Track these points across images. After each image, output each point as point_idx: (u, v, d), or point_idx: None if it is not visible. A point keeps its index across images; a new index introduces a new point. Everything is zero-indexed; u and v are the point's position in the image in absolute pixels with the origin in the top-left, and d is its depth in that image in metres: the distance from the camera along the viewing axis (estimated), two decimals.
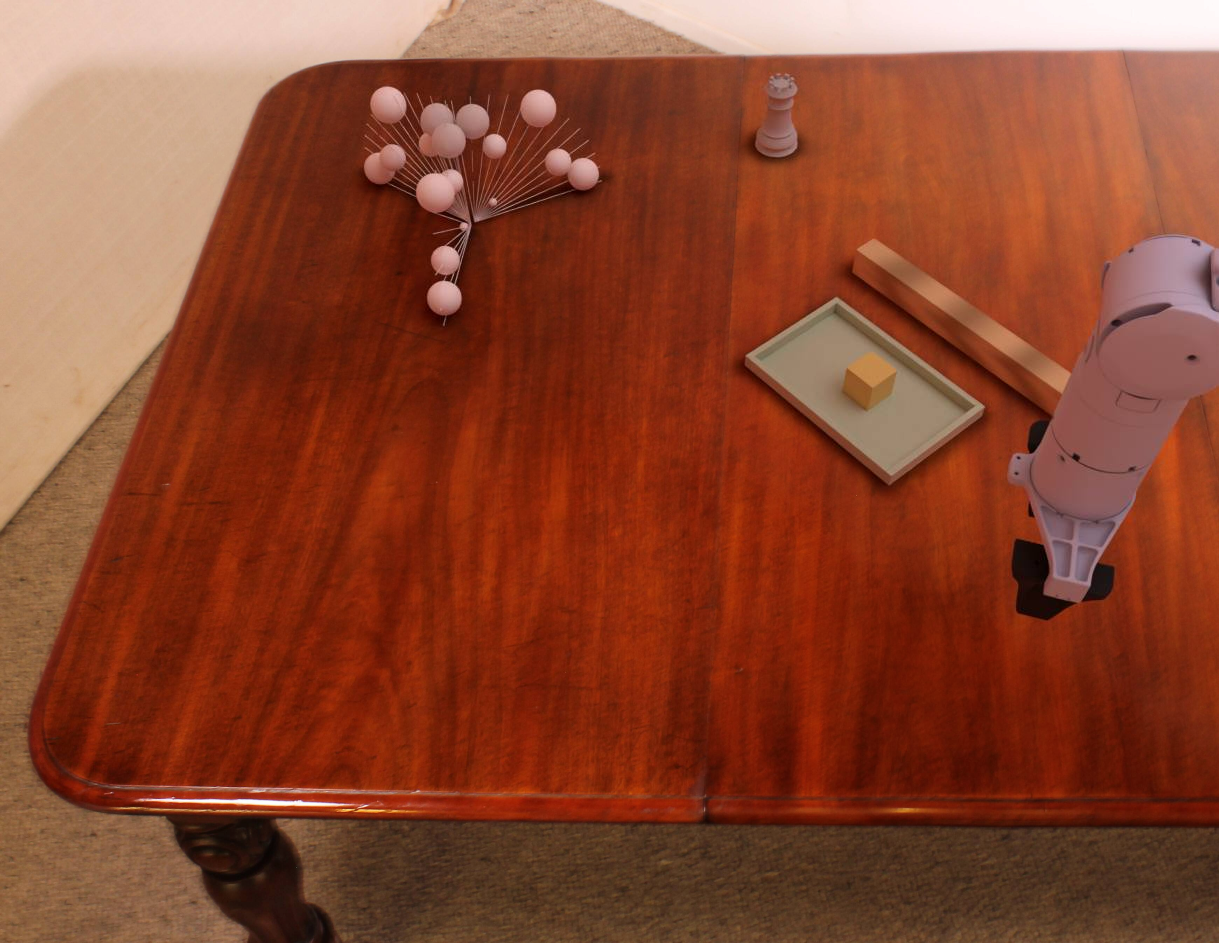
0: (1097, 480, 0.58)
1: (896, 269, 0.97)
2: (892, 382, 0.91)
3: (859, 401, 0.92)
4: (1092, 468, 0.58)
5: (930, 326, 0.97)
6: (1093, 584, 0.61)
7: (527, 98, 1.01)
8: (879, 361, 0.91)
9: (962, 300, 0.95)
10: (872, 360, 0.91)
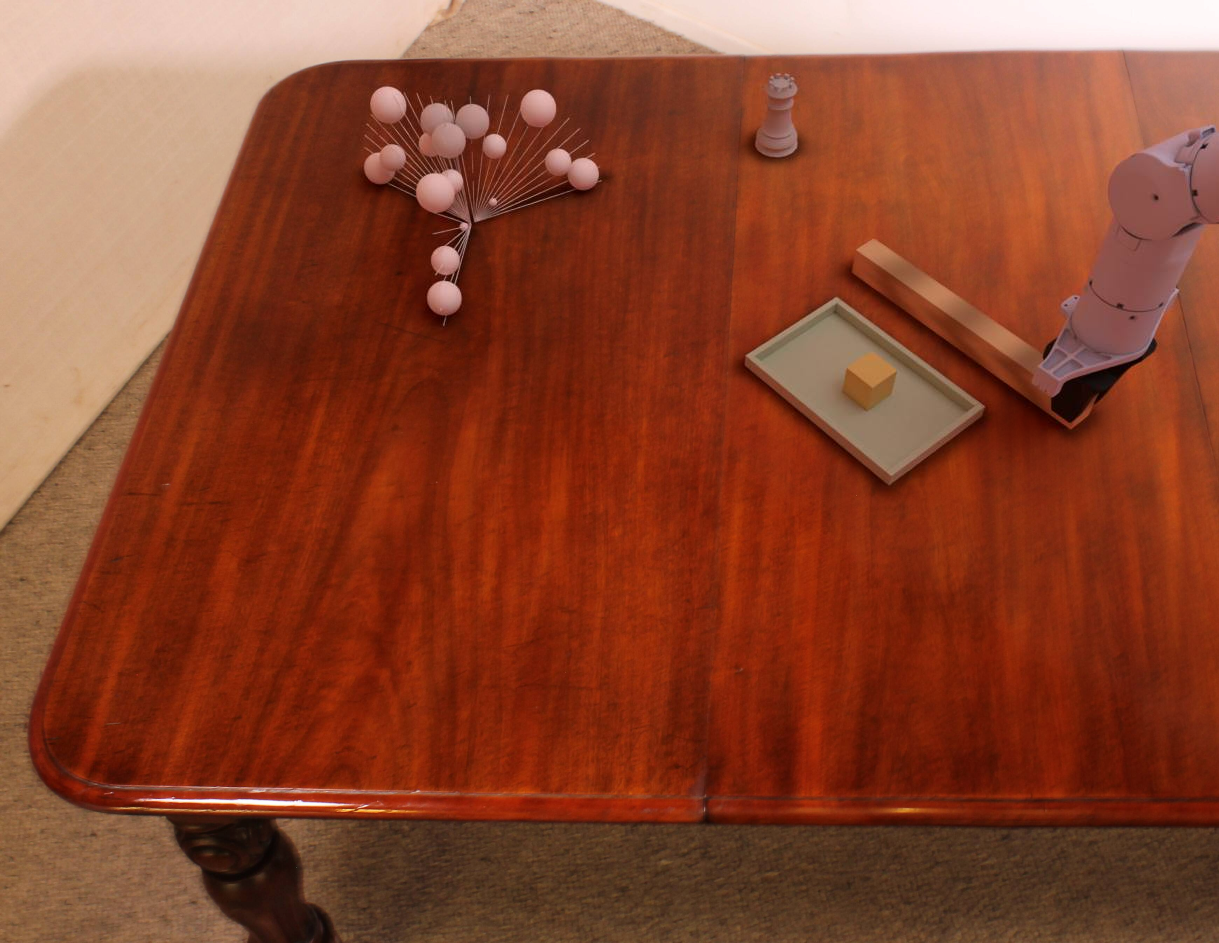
0: (1101, 310, 0.78)
1: (896, 269, 0.97)
2: (892, 382, 0.91)
3: (859, 401, 0.92)
4: (1099, 297, 0.77)
5: (930, 326, 0.97)
6: (1094, 380, 0.82)
7: (527, 98, 1.01)
8: (879, 361, 0.91)
9: (962, 300, 0.95)
10: (872, 360, 0.91)
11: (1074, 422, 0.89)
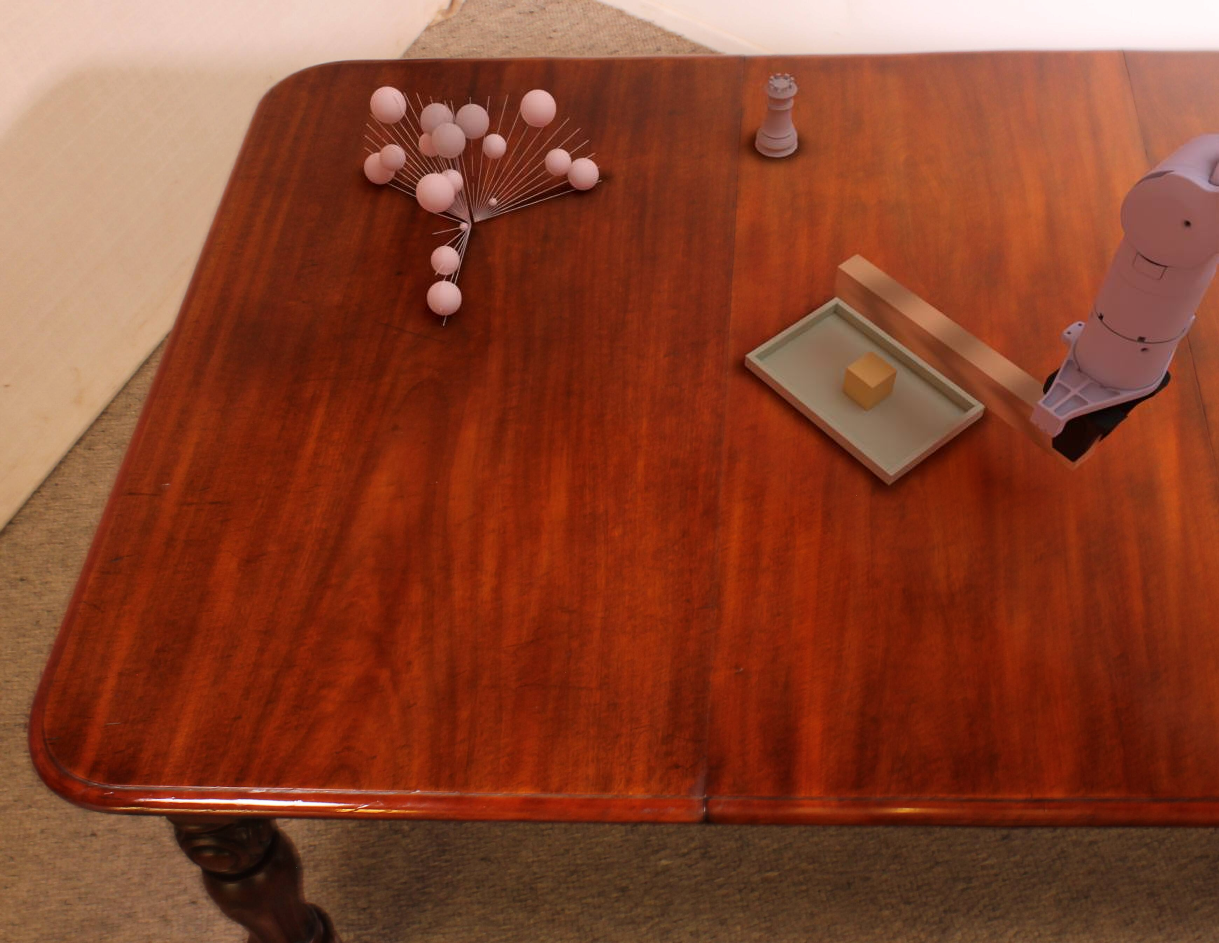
0: (1109, 340, 0.69)
1: (881, 288, 0.89)
2: (892, 382, 0.91)
3: (859, 401, 0.92)
4: (1107, 326, 0.69)
5: (918, 351, 0.88)
6: (1100, 417, 0.73)
7: (526, 98, 1.01)
8: (879, 361, 0.91)
9: (953, 323, 0.86)
10: (872, 360, 0.91)
11: (1077, 461, 0.80)
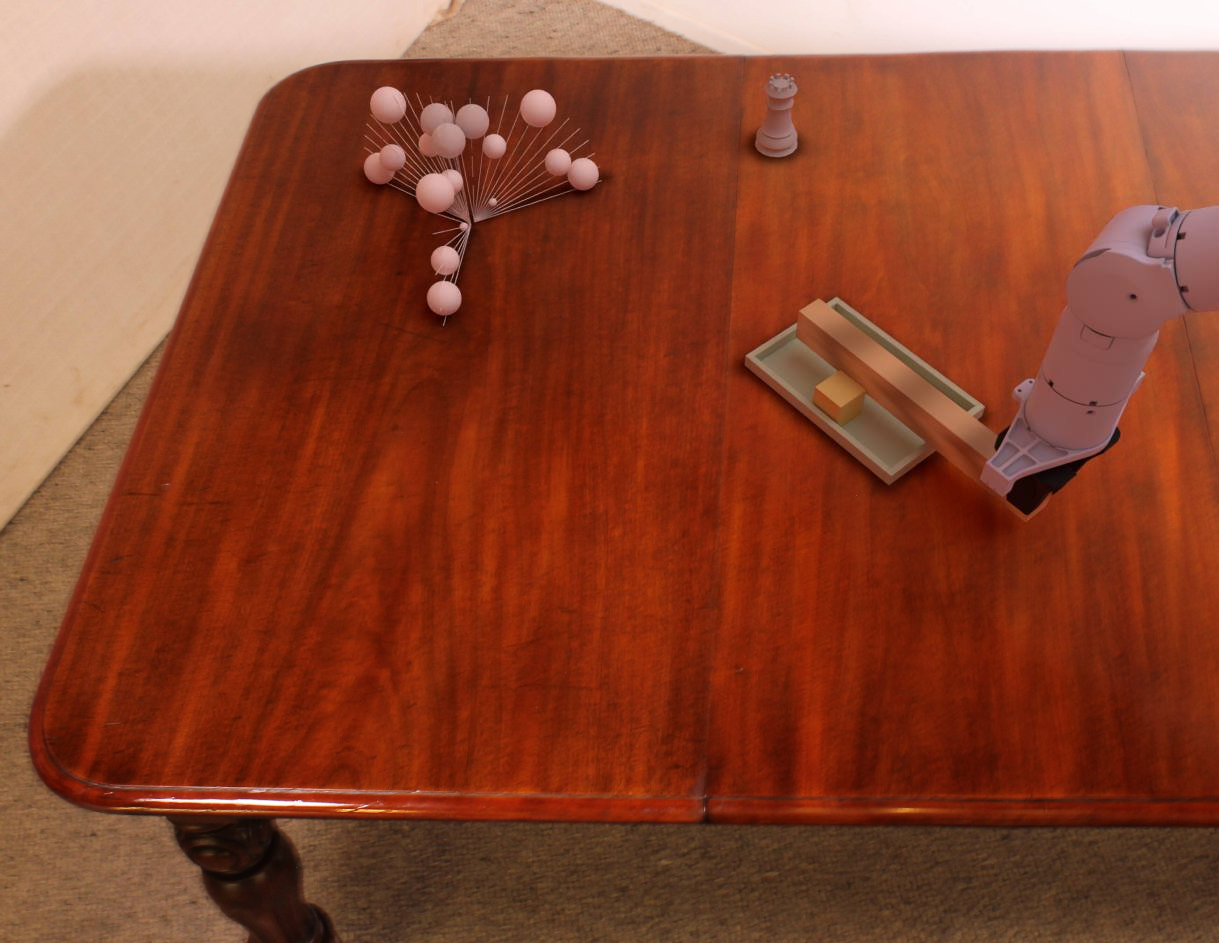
0: (1055, 402, 0.70)
1: (842, 334, 0.89)
2: (861, 401, 0.90)
3: None
4: (1053, 389, 0.69)
5: (877, 398, 0.88)
6: (1049, 475, 0.73)
7: (526, 98, 1.01)
8: (848, 380, 0.89)
9: (912, 371, 0.86)
10: (841, 379, 0.90)
11: None
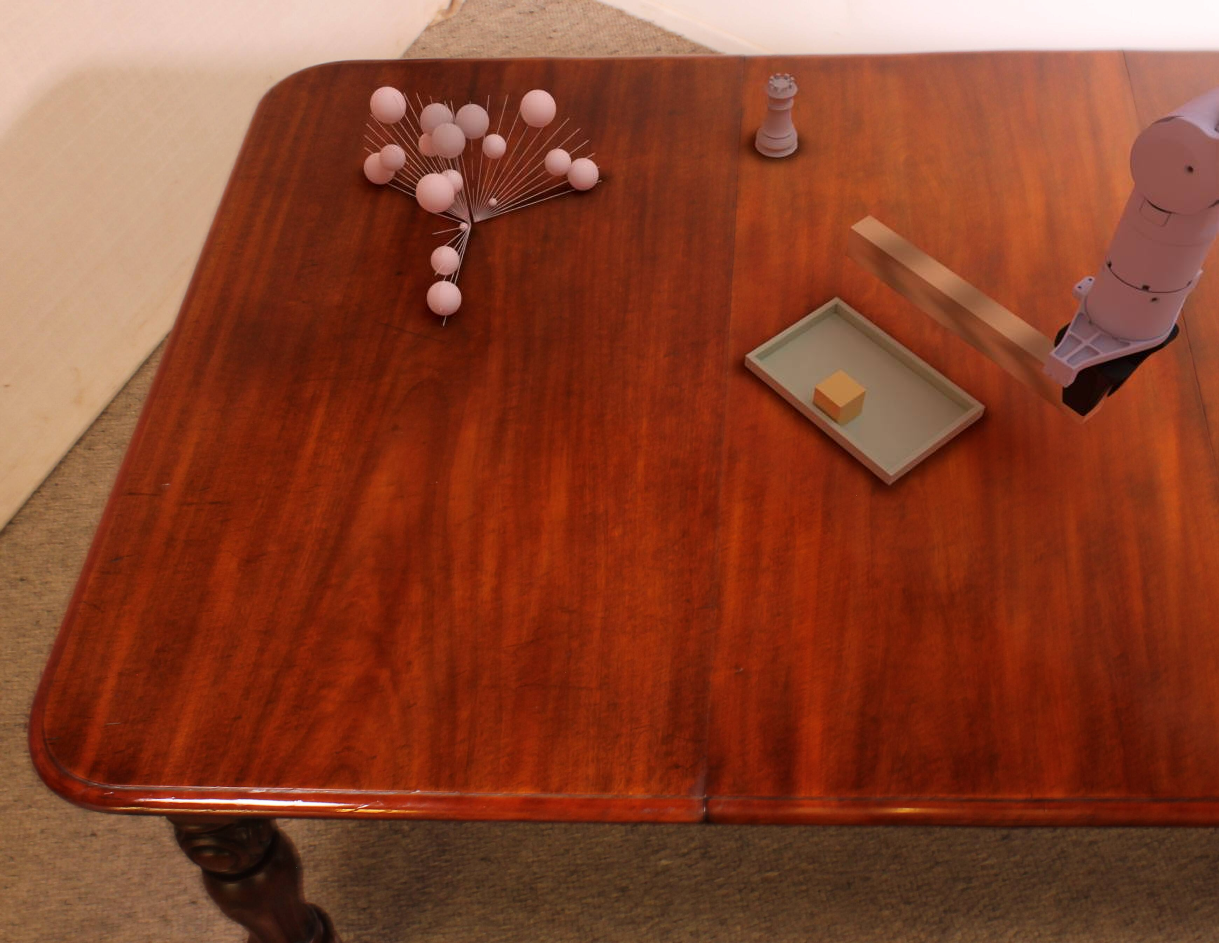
0: (1120, 291, 0.71)
1: (893, 248, 0.90)
2: (861, 401, 0.90)
3: None
4: (1118, 277, 0.70)
5: (930, 310, 0.89)
6: (1110, 369, 0.75)
7: (526, 98, 1.01)
8: (848, 380, 0.89)
9: (965, 282, 0.87)
10: (841, 379, 0.90)
11: (1086, 415, 0.82)
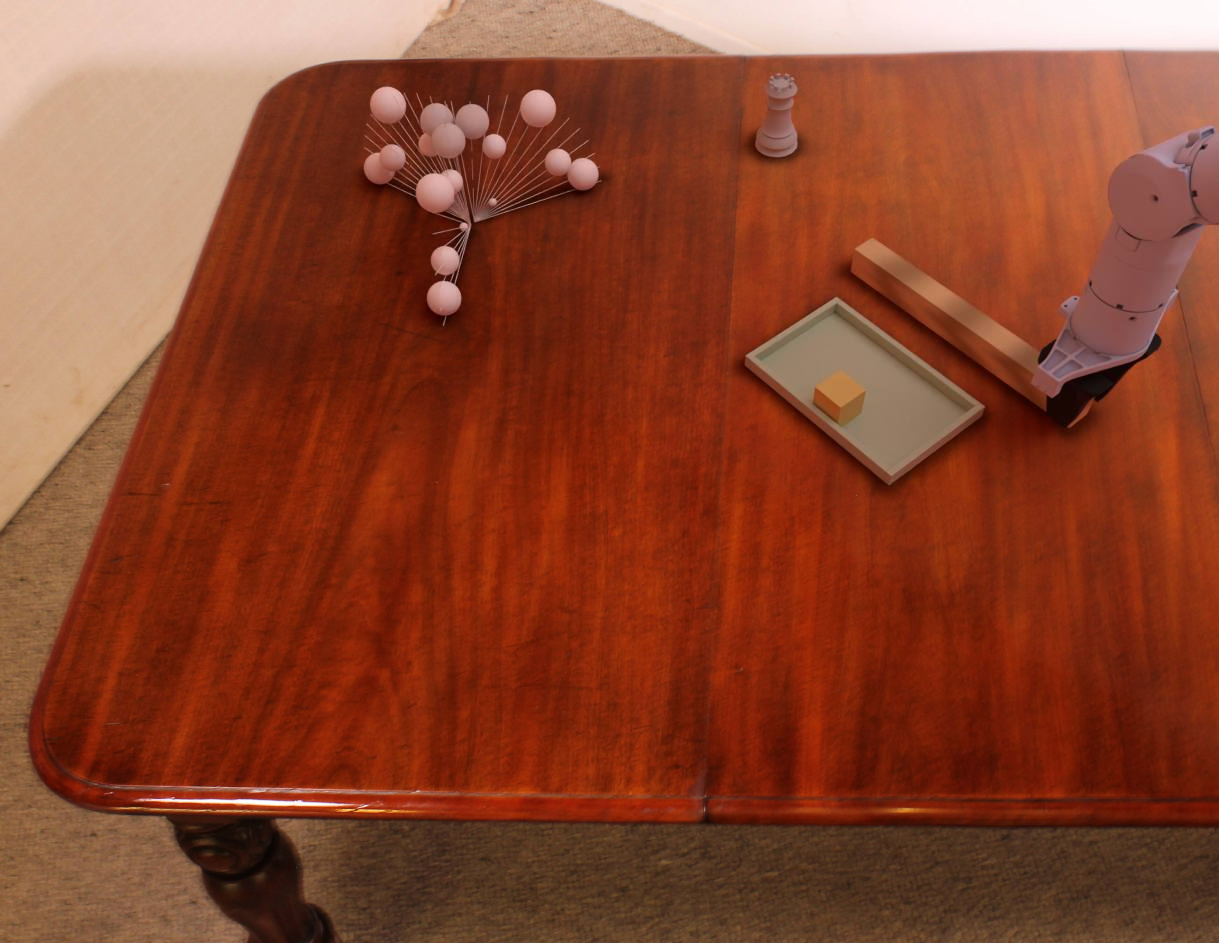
0: (1101, 311, 0.78)
1: (895, 268, 0.97)
2: (861, 401, 0.90)
3: None
4: (1099, 298, 0.77)
5: (928, 325, 0.97)
6: (1089, 384, 0.81)
7: (526, 98, 1.01)
8: (848, 380, 0.89)
9: (960, 299, 0.95)
10: (841, 379, 0.90)
11: None
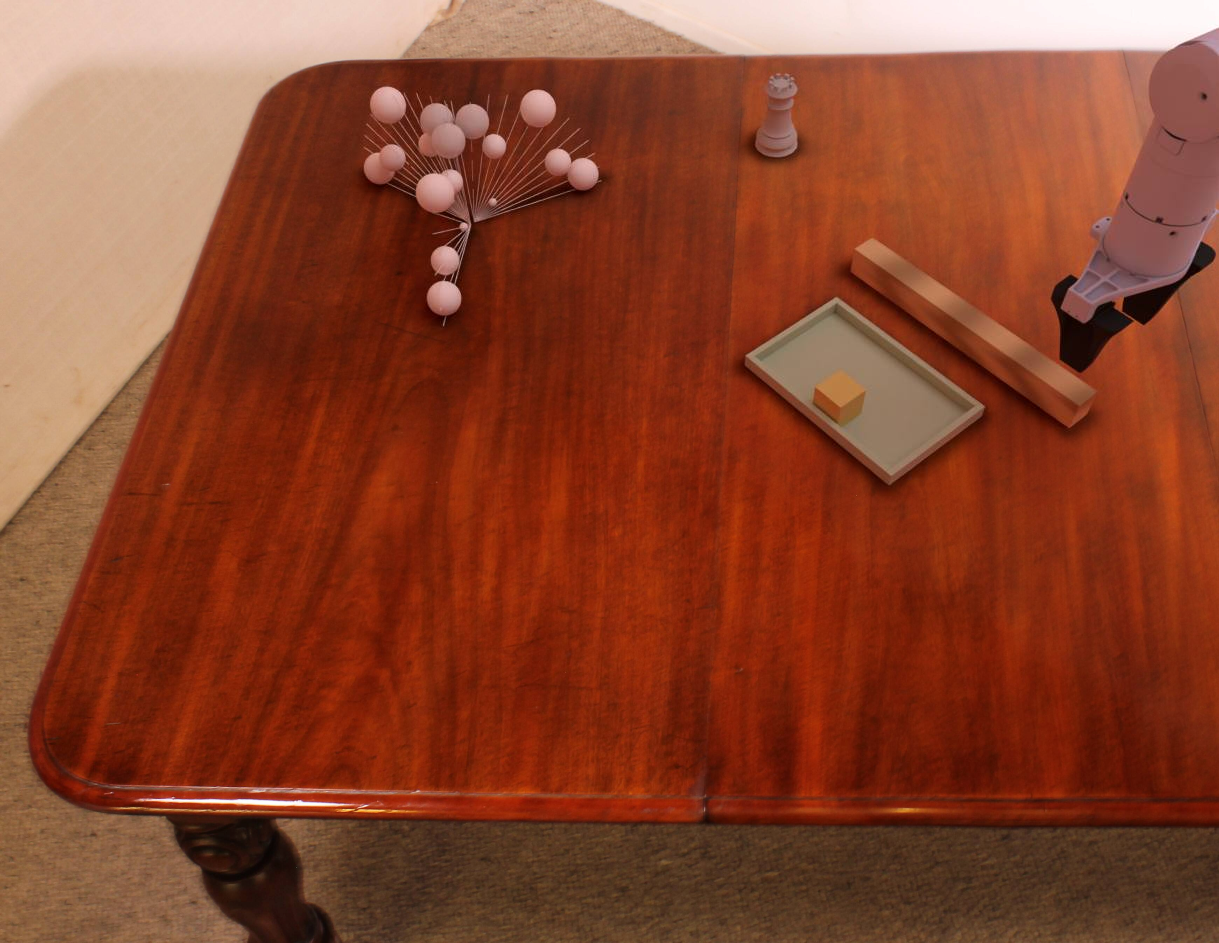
0: (1138, 226, 0.72)
1: (895, 268, 0.97)
2: (861, 401, 0.90)
3: None
4: (1136, 212, 0.71)
5: (928, 325, 0.97)
6: (1107, 322, 0.75)
7: (526, 98, 1.01)
8: (848, 380, 0.89)
9: (960, 299, 0.95)
10: (841, 379, 0.90)
11: (1073, 420, 0.89)
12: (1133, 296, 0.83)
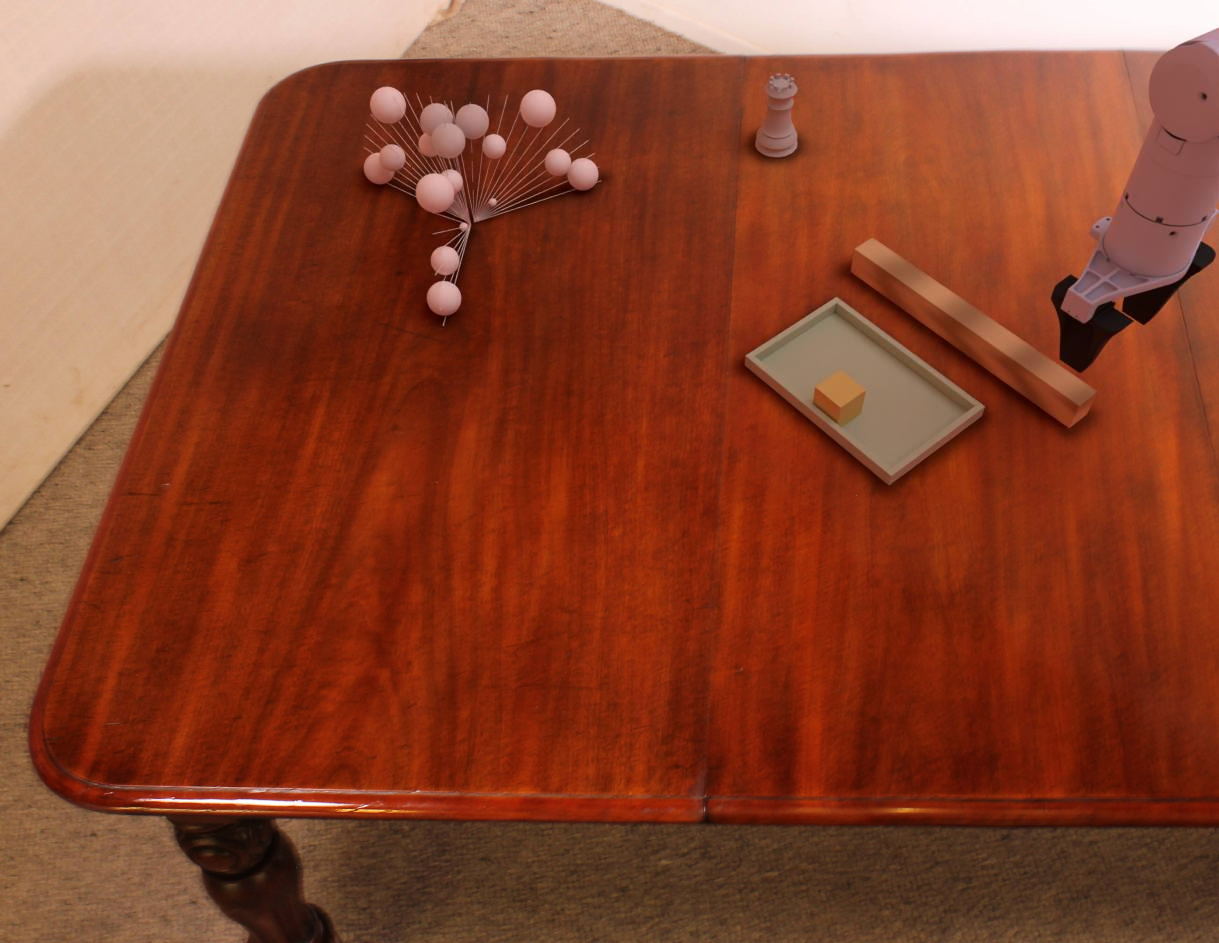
0: (1138, 226, 0.72)
1: (895, 268, 0.97)
2: (861, 401, 0.90)
3: None
4: (1136, 212, 0.71)
5: (928, 325, 0.97)
6: (1107, 322, 0.75)
7: (526, 98, 1.01)
8: (848, 380, 0.89)
9: (960, 299, 0.95)
10: (841, 379, 0.90)
11: (1073, 420, 0.89)
12: (1133, 296, 0.83)
